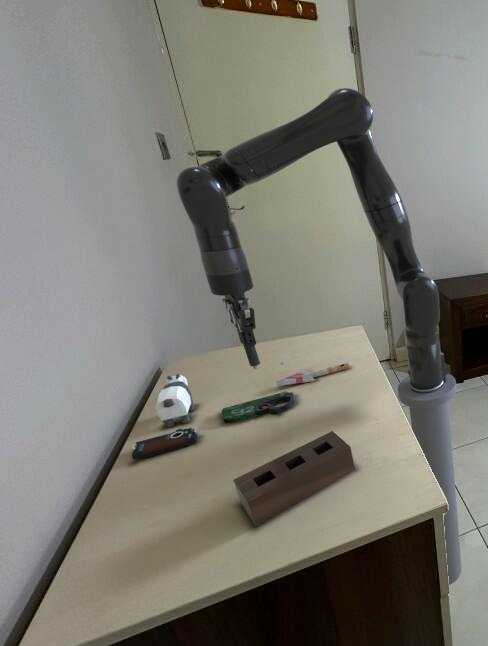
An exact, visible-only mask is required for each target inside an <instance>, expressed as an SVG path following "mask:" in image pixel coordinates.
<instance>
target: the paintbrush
mask: <svg viewBox="0 0 488 646" xmlns="http://www.w3.org/2000/svg"><path fill="white" fill-rule="evenodd" d="M349 369H350V365H349V362H346V363H342V364H337V365H332V366H330V367H329V366H328V367H325V368H321V369H317V370H313V368H312V367H310V368H307V369H304V370H302V371H299V372H296V373H295V374H292V375H289V376H287V377H284V378H282V379H279V380H277V381H275V384H276V385H277V387H280V386H286V385H294V384H302V383H303V384H304V383H309V382H316V379H315V378H317V377H321V376H325V375H329V374H333V373H336V372H340V371H342V370H349Z"/></svg>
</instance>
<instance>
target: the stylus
mask: <svg viewBox="0 0 488 646" xmlns="http://www.w3.org/2000/svg"><path fill="white" fill-rule="evenodd" d="M236 325H237V328H236V329H238V331H239V327H238V324H237V323H236ZM245 325H249V324H245ZM239 334H240V337H241V340H242V343H243V339H242V336H241V333H240V331H239ZM242 343H241V344H242ZM242 346H243V350H244V351H245V355H246V358H247V361H248V362H249V363H248V365H249V366H250V367H252V368H253V369H254V370H258V369H259V368H260V366H259V365H260V364H261V360H260V358H259V355H258V352H257V349H256V345H254V346H251V347H245V346H244V343H243V344H242Z"/></svg>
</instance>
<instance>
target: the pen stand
mask: <svg viewBox="0 0 488 646" xmlns="http://www.w3.org/2000/svg"><path fill="white" fill-rule="evenodd" d="M355 470H356V467H355V463H354V457H353V452H352V447H351V446H350V445H349V444H348V443H347V442H346V441H345V440H344V439H342V438H341V437H340V436H339V435H338V434H337V433H336V432H334V431H333V430H331V431H329V432H326V433H325V434H322V435H321V436H319V437H317V438H315V439H313V440H311V441H309V442H307V443H305V444H303V445H301V446H298V447H297V448H294V449H292V450H290V451H288V452H286V453H285V454H282V455H280V456H278V457H276V458H274V459H272V460H271V461H268V462H267V463H264V464H262V465H260V466H258V467H256V468H254V469H252V470H250V471H248V472H246V473H243V474H242V475H240V476H237V477H235V478H234V479H233V480H232V481H233V484H234V486H235V490H236V492H237V495H238V498H239V501H240V504H241V505H242V507H243V509H244V510H245V511H246V514H247V515H248V517H249V518H250V520H251V521H252V523H253V525H254V527H256V528H258V527H259V526H261V525H263V524H264V523H266V522H267V521H269V520H271V519H273V518H274V517H276V516H278V515H280V514H281V513H284V512H285V511H287V510H288V509H290V508H292V507H293V506H295V505H296V504H299V503H300V502H302V501H303V500H306V499H307V498H309V497H310V496H312V495H314V494H315V493H317V492H319V491H321V490H322V489H324V488H326V487H327V486H329V485H331V484H332V483H334V482H336V481H338V480H339V479H341V478H343V477H344V476H346V475H348V474H350V473H352V472H353V471H355Z"/></svg>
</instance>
